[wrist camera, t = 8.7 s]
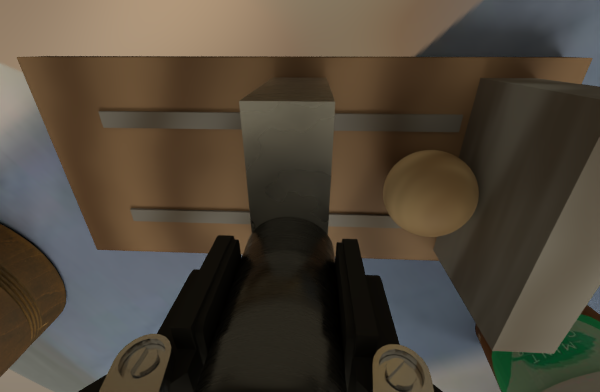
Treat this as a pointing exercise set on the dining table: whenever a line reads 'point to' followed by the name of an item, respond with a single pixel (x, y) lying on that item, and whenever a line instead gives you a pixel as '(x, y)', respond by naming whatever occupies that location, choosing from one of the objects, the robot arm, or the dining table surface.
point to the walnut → (430, 193)
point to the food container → (552, 361)
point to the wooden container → (25, 295)
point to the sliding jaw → (283, 251)
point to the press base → (351, 165)
